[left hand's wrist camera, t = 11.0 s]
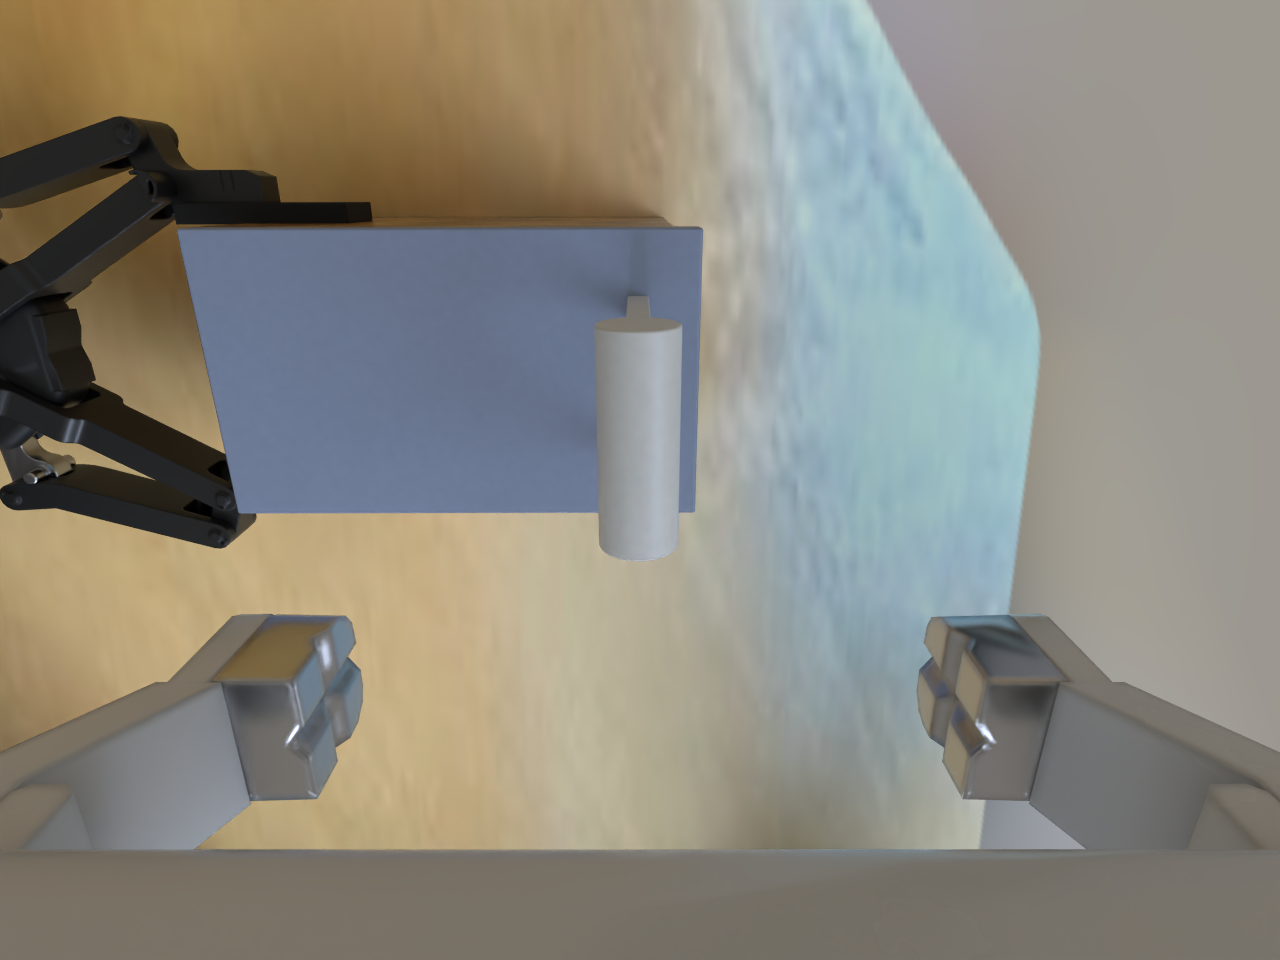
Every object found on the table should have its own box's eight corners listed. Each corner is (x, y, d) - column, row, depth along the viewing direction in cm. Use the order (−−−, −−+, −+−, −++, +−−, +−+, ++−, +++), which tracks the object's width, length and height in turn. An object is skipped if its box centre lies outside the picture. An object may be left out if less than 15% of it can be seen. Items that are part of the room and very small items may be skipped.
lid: (700, 226, 25) (731, 242, 17) (692, 500, 28) (715, 626, 20) (195, 227, 25) (-27, 243, 16) (253, 501, 28) (95, 628, 20)
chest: (664, 217, 35) (674, 226, 25) (661, 421, 38) (670, 500, 28) (323, 217, 35) (196, 226, 25) (353, 421, 38) (253, 501, 28)
